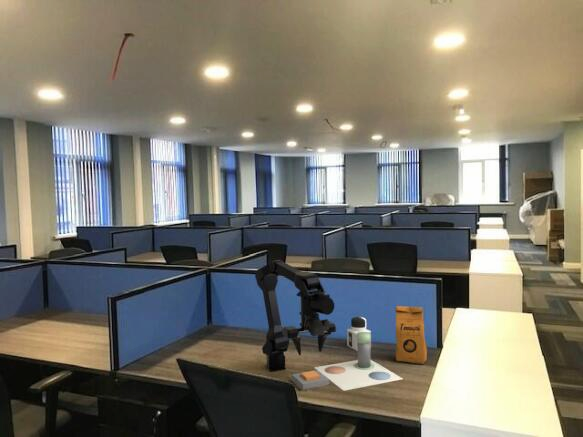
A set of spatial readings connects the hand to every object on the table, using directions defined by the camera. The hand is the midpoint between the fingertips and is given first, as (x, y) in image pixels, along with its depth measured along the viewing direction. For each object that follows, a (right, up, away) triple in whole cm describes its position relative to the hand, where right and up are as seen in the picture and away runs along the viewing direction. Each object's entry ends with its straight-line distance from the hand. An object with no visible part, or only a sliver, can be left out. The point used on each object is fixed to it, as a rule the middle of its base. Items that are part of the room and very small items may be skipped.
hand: (309, 353), depth 169 cm
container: (+23, -9, +40) cm, 47 cm away
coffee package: (+41, -9, +21) cm, 47 cm away
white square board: (+18, -10, +8) cm, 22 cm away
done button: (0, -10, 0) cm, 10 cm away
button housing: (0, -11, +1) cm, 11 cm away
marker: (+21, -9, +14) cm, 27 cm away
